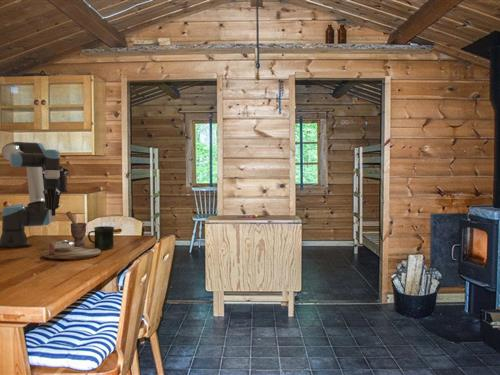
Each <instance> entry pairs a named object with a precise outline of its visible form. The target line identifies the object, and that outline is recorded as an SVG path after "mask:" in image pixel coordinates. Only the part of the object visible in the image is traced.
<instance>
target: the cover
mask: <svg viewBox="0 0 500 375" xmlns="http://www.w3.org/2000/svg"><path fill="white" fill-rule="evenodd" d="M53 243H54V251H56V252H68V251H73V250H74V247H75V246H74V241H72V240H71V241H70V240H67V239H65V240H63V239H61V241H56V242H53Z"/></svg>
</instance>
